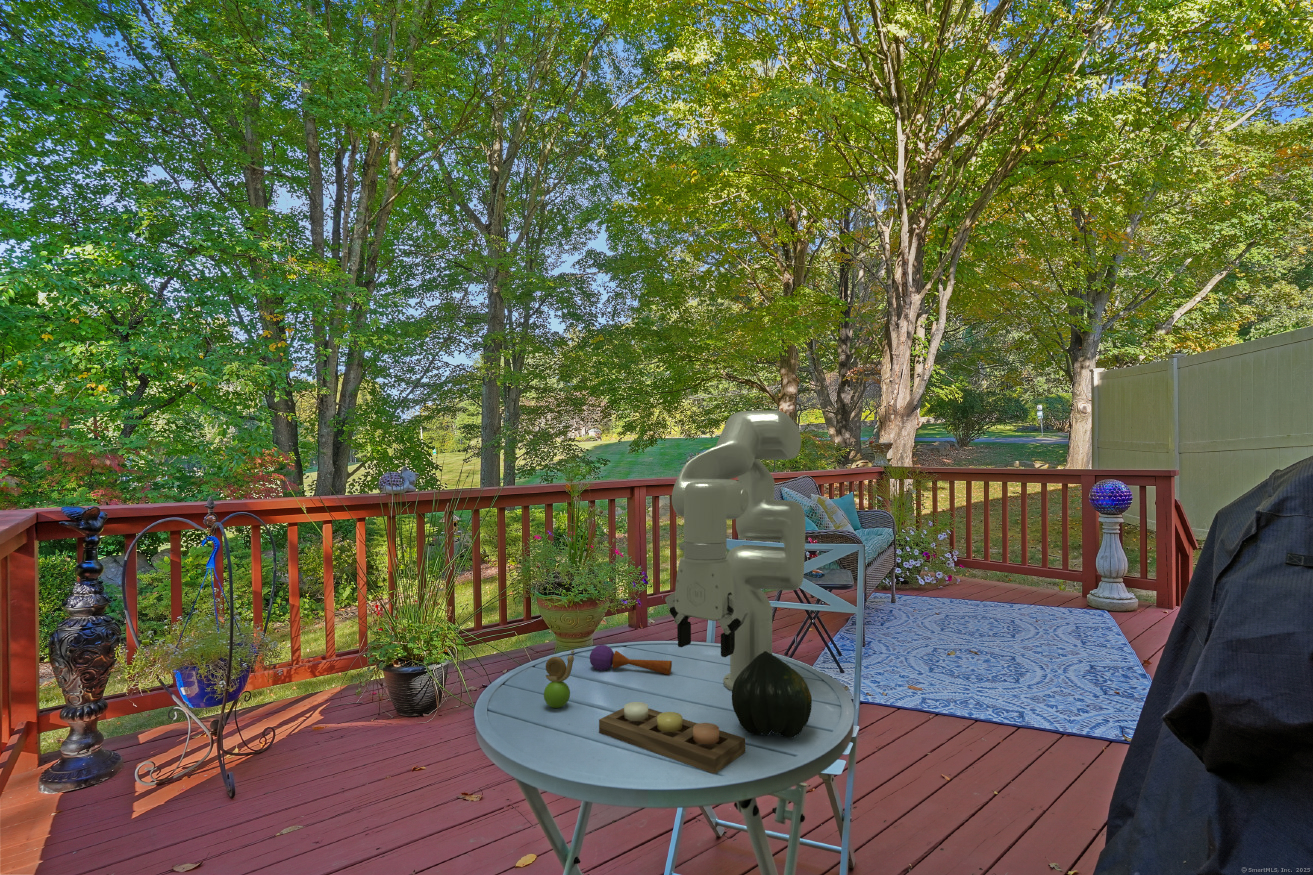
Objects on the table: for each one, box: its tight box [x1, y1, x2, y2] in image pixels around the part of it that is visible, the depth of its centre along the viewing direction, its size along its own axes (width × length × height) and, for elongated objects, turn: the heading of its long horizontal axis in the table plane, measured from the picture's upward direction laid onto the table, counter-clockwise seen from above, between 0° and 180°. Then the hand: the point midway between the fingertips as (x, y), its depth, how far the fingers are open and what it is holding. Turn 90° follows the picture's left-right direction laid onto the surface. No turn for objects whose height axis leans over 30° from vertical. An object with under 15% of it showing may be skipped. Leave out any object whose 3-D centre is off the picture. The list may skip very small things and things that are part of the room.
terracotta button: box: [693, 722, 720, 744], centre depth 116 cm, size 5×5×2 cm
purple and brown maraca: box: [589, 644, 673, 676], centre depth 160 cm, size 6×6×20 cm
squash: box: [731, 651, 813, 739], centre depth 127 cm, size 14×15×15 cm
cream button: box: [623, 701, 649, 721], centre depth 126 cm, size 5×5×2 cm
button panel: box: [598, 707, 746, 775], centre depth 121 cm, size 10×26×2 cm, turn 52°
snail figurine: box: [543, 649, 575, 709], centre depth 138 cm, size 5×6×12 cm
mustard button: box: [657, 711, 683, 732], centre depth 121 cm, size 5×5×2 cm
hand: (705, 649), depth 116 cm, fingers open, 8 cm apart
